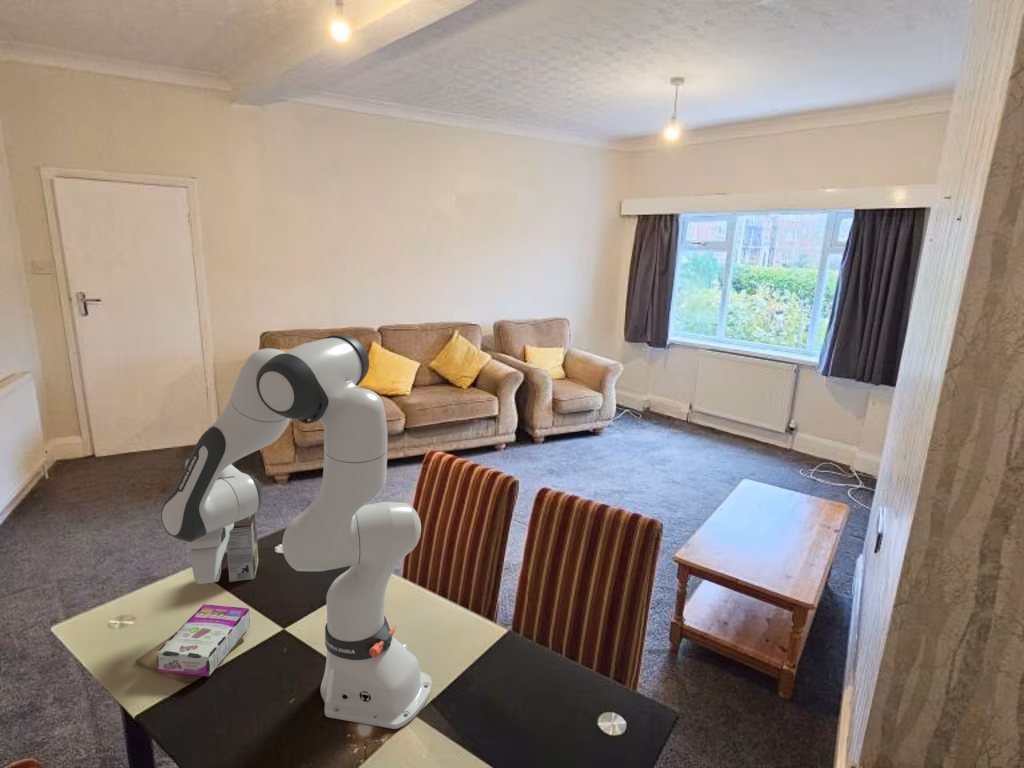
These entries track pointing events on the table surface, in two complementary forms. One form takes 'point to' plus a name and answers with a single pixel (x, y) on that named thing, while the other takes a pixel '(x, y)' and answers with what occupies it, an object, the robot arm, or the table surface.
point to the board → (151, 663)
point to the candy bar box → (203, 640)
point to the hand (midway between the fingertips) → (215, 578)
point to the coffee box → (243, 550)
